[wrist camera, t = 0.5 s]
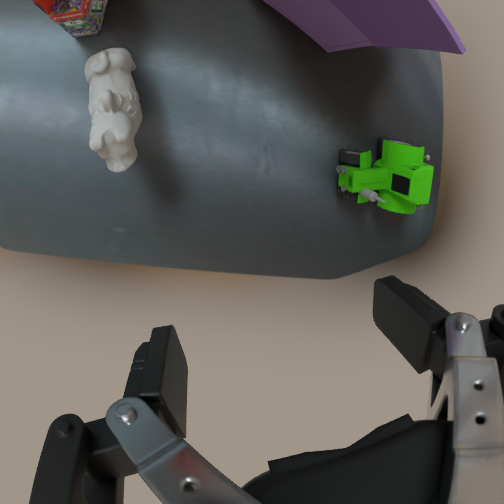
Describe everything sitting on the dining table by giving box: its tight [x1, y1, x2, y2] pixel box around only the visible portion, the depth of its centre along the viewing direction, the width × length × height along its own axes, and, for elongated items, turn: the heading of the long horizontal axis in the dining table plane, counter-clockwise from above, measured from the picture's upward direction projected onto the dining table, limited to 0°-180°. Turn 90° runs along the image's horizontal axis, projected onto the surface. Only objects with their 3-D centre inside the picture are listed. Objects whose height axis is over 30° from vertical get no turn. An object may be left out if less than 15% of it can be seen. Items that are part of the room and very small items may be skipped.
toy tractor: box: [336, 137, 434, 214], centre depth 38 cm, size 11×16×10 cm
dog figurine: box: [85, 48, 143, 173], centre depth 23 cm, size 5×13×11 cm, turn 7°
